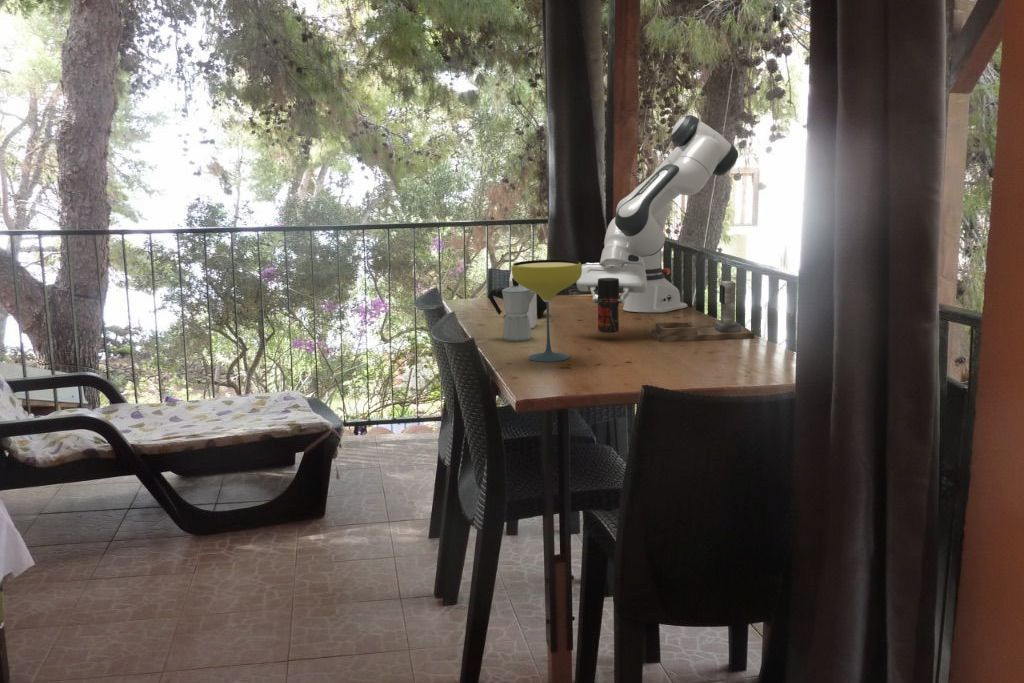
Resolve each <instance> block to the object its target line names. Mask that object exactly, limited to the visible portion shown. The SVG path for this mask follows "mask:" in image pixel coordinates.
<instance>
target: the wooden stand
mask: <svg viewBox="0 0 1024 683" xmlns="http://www.w3.org/2000/svg"><path fill="white" fill-rule="evenodd" d="M736 283H737V282H735V281H733V280H722V281H721V284H719V286H718V287H719V288H718V289H719V292H718V296H719V299H718V300H719V301H718V302H719V303H720V321H714V327H698V326H696V325H695V324H693V323H692V322H691V321H677V322H655V326H654V328H655V329H651V336H652V337H654V338H655V340H656V341H658V342H659V343H660V342H661V343H663V342H688V341H693V342H694V341H714V340H743V339H744V340H745V339H746V340H747V339H754V338H755V333H754V331H751V329H748V328H747V327H745V326H742V324H741V323H739V322H737V321H736Z"/></svg>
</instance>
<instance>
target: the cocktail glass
mask: <svg viewBox="0 0 1024 683" xmlns="http://www.w3.org/2000/svg"><path fill="white" fill-rule="evenodd" d="M581 265H582V263H581V262H580V261H578V260H573V259H570V260H569V259H535V260H533V259H532V260H525V261H524V260H523V261H517V262H514V263H512V276H513V279H514V280H515V281H516V282H517V283H519V284H520V285H522V286H523V287H525V288H527V289H529V290H531V291H533V292H535V293H537V294H538V295H539V296H540V297H541V298H542V300H543V301H544V302H546V310H545V311H546V345H545V346H546V348H545V351H544V352H539V353H533V354H531V355H529V356H528V357H527V358H528V360H530V361H533V362H538V363H556V362H562V361H566V360H568V359H570V355H568V354H566V353H561V352H554V351H553V350H552V347H551V338H550V308H549V307H550V303H551V302H552V301H553V299H554V298H555V297H556V296H557V294H559V293H560V292H561V291H563V290H566V289H567V288H569V287H570V286H572V285H574V284H576V281H578V280H579V278H580V277H581V274H582V267H581Z"/></svg>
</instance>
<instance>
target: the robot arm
mask: <svg viewBox="0 0 1024 683" xmlns="http://www.w3.org/2000/svg"><path fill="white" fill-rule="evenodd" d="M670 139H671V142H672V144H673V145H674V146H675V148H673V150H672V151H671V152H670V153H669V154H668V156H667V157H666V158H665V159H664V160H663V161H662V162H661V164H659V166H658V167H657V168H656V169H655V171H653V173H652V174H650V176H648V177H647V178H646V179H645V180H643V181H642V182H641V183H640V184H639V185H638V186H636V187H635V189H634V190H632V191H631V192H630V193H629V194H628V195H627V196H625V197H623V198H622V199H621V200H620V201H619V202H618V203H617V206H616V209H615V212H616V213H615V217H613V218H612V219H611V221H610V223H608V225H607V228H606V233H605V236H604V241H603V244H604V248H603V249H602V251H601V256H600V260H599V262H585V263H583V264H581V267H582V274H581V277H580V278H579V280H578V281H576V282H575V284H576V288H577V289H578V291H579V292H591V295H592V303H594V304H598V279H599V278H618V279H619V293H622V294H621V295H619V296H618V304H619V305H620V304H621V305H622V304H623V307H622V310H623V311H626V312H631V313H632V312H633V313H635V312H636V313H666V312H671V311H675V310H680V309H681V310H682V309H685V308H688V304H687V303H686V302H681V292H680V290H679V289H678V288H677V287H676V286H675V285H673V284H672V283H671V282H670V281H669V280H667V279H666V278H665V275H670V274H671V270H670V268H666V267H664V268H663V267H661V266H662V265H661V263H662V262H661V261H662V260H661V256H662V255H661V254H662V251H661V250H662V249H663V247H664V246H665V243H666V241H667V240H666V238H667V237H666V234H665V233H664V230H665V225H666V222H667V219H668V217H669V216H670V214H671V210H672V208H671V202H673V200H674V199H676V198H678V197H679V196H680V195H682V196H693V195H695V194H697V193H699V192H700V191H702V189H703V188H704V187H705V185H706V184H707V183H708V181H709V179H710V178H711V177H712V175H715V176H717V177H720V176H724V175H725V174H727V173H728V172H730V171H731V170H732V169H733V168H734V167H735V165H736V163H737V161H738V158H739V151H738V150H737V148H736V147H735V146H734V144H731V143H730V142H729V141H728V140H727V139H726V138H725V137H724V136H723V135H722V134H720V133H719V132H718V131H717V130H715V129H713V128H712V127H710V126H709V125H707V124H706V123H705V122H703V121H701V120H700V118H699V117H696V116H695V115H692V114H687V115H685V116H684V117H682V118H680V119H679V120H678V121H676V123H675V124H674V126H673V128H672V130H671V134H670Z"/></svg>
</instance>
